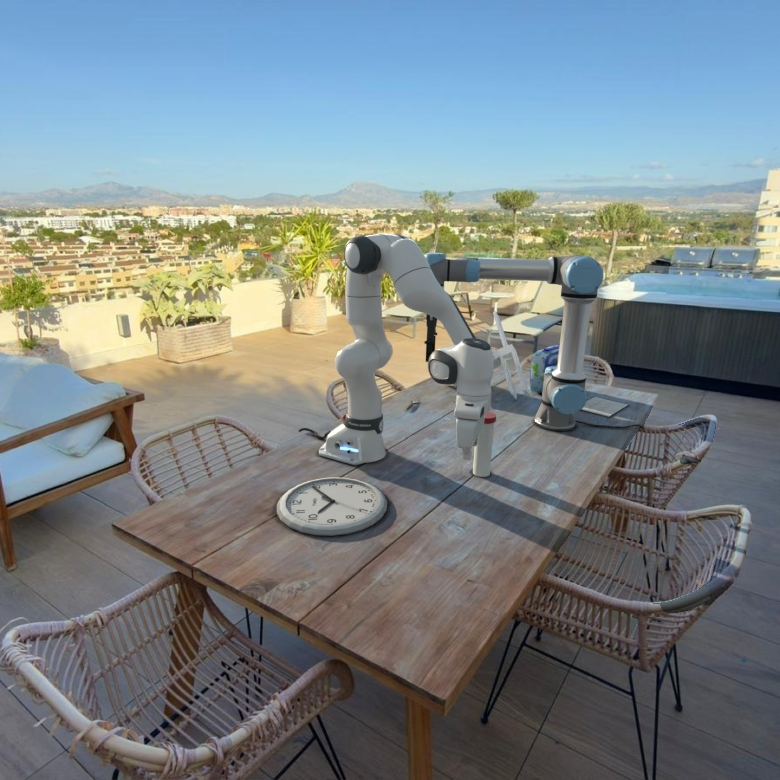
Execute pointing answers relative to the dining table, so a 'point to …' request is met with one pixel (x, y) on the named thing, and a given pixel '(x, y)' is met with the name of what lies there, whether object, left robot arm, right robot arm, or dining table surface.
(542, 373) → the lunch box
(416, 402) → the fork
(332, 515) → the wall clock
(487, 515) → the dining table surface
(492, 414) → the lid
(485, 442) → the jar
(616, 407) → the invitation card
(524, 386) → the white plastic object
